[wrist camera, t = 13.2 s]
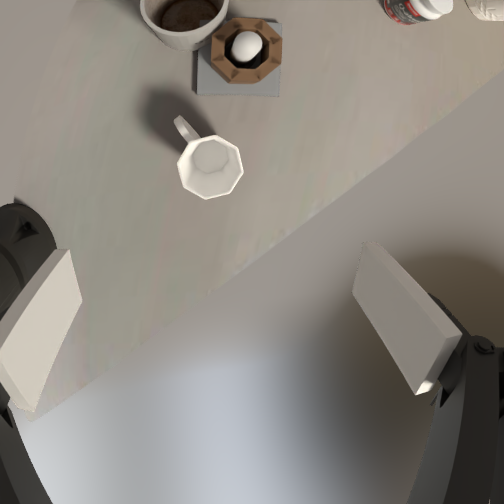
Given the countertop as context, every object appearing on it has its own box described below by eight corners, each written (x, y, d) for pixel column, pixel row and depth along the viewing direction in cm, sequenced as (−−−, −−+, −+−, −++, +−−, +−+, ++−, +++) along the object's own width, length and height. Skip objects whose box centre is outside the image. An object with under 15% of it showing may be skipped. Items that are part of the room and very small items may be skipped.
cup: (205, 191, 41) (203, 212, 33) (158, 133, 36) (145, 140, 29) (248, 160, 39) (257, 174, 32) (202, 99, 35) (200, 98, 28)
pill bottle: (379, 14, 31) (418, 0, 22) (385, -14, 29) (423, -31, 20) (411, 32, 32) (453, 24, 23) (416, 4, 30) (457, -7, 21)
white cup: (466, -23, 26) (504, -31, 17) (493, 7, 28) (530, 4, 20) (457, 0, 29) (497, -7, 20) (485, 31, 31) (525, 30, 22)
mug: (184, 64, 33) (175, 53, 24) (143, 22, 29) (123, 0, 20) (261, 11, 31) (277, -15, 22) (220, -31, 27) (223, -65, 18)
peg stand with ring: (197, 95, 35) (192, 92, 26) (200, 22, 30) (196, -3, 21) (277, 96, 36) (298, 95, 27) (280, 25, 31) (301, 4, 23)
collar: (210, 83, 33) (210, 79, 28) (212, 29, 30) (213, 17, 25) (270, 85, 34) (280, 82, 29) (272, 32, 31) (282, 21, 26)
